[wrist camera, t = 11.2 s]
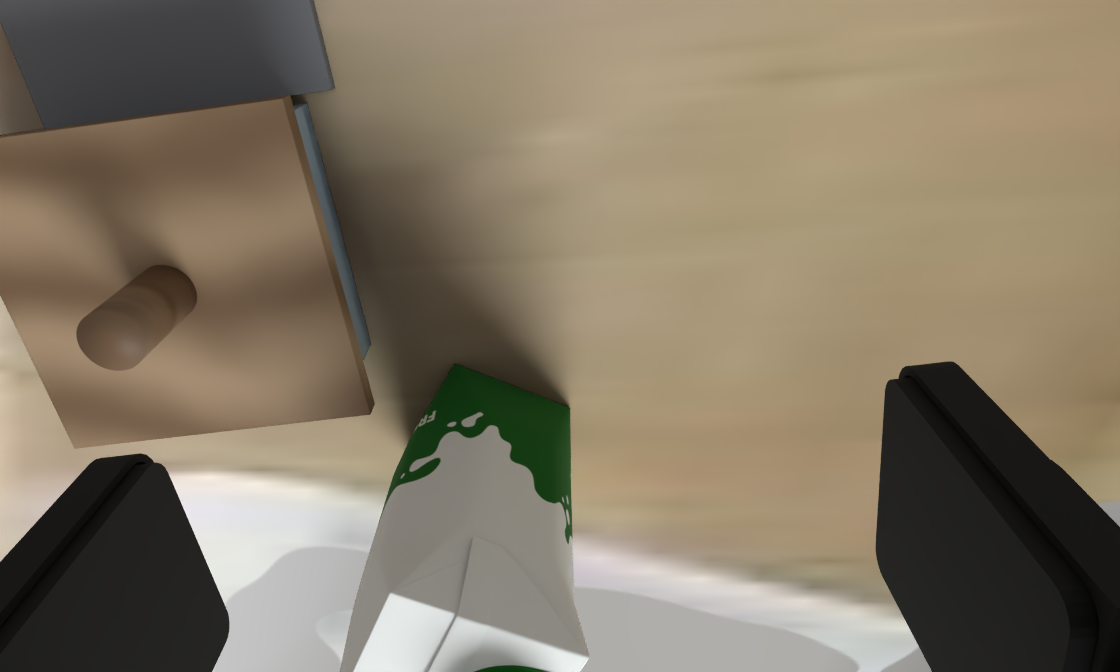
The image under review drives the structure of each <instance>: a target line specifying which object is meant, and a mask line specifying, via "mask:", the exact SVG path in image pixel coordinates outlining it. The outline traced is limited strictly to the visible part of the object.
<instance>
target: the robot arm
mask: <svg viewBox="0 0 1120 672" xmlns="http://www.w3.org/2000/svg"><path fill="white" fill-rule="evenodd" d="M876 556H877V561H878V565H879V568H880V572H881V574H882V576H883V578H884V580H885V582H886V584H887V586H888V588H889V590H890V592H891V594H892V596H893V598H894V599H895V601H896V603H897V605H898V607H899V609H900V611H901V613H902V615H903V617H904V619H905V620H906V622H907V624H908V626H909V628H910V630H911V632H912V634H913V636H914V638H915V640H916V642H917V643H918V645H919V647H920V649H921V651H922V653H923V655H924V657H925V659H926V661H927V663H928V664H929V666H930V668H931V670H932V672H1120V527H1119V526H1118V525H1117V524H1116V523H1115V522H1114V521H1113V520H1112V519H1111V518H1110V517H1109V516H1108V515H1107V514H1106V513H1105V512H1104V511H1103V509H1102V508H1101V507H1100V506H1099V505H1098V504H1097V503H1096V502H1095V501H1094V500H1093V499H1092V498H1091V497H1090V496H1089V495H1088V494H1087V493H1086V492H1085V491H1084V490H1083V489H1082V488H1081V487H1080V486H1079V485H1078V484H1077V483H1076V482H1075V481H1074V480H1073V479H1072V478H1071V477H1070V476H1069V475H1068V474H1067V473H1066V472H1065V471H1064V470H1063V469H1062V468H1061V467H1060V466H1059V465H1057V464H1056V463H1055V462H1053V461H1052V460H1050V459H1049V458H1048V457H1047V456H1046V455H1045V454H1044V453H1043V452H1042V451H1041V450H1040V449H1039V448H1038V447H1037V446H1036V445H1035V443H1034V442H1033V441H1032V440H1031V439H1030V438H1029V437H1028V436H1027V435H1026V434H1025V433H1024V432H1023V431H1022V430H1021V429H1020V428H1019V427H1018V426H1017V425H1016V424H1015V423H1014V422H1013V421H1012V420H1011V419H1010V418H1009V417H1008V416H1007V415H1006V414H1005V413H1004V412H1003V411H1002V410H1001V409H1000V408H999V406H998V405H997V404H996V403H995V402H994V401H993V400H992V399H991V398H990V397H989V396H988V395H987V394H986V393H985V392H984V391H983V390H982V389H981V388H980V387H979V386H978V385H977V384H976V383H975V382H974V381H973V380H972V379H971V378H970V377H969V376H968V375H967V374H966V373H965V372H964V370H963V369H962V368H961V367H960V366H959V365H957V364H956V363H954V362H940V363H932V364H923V365H914V366H905V367H904V368H903V369H902V370H901V372H900V375H899V379H893V380H889V381H888V382H887V385H886V389H885V401H884V417H883V434H882V450H881V467H880V483H879V500H878V516H877V533H876ZM228 633H229V616H228V612H227V610H226V607H225V605H224V603H223V600H222V598H221V595H220V593H219V591H218V588H217V586H216V584H215V581H214V579H213V577H212V574H211V572H210V570H209V567H208V565H207V563H206V560H205V558H204V556H203V553H202V551H201V549H200V546H199V544H198V542H197V539H196V537H195V535H194V532H193V530H192V528H191V525H190V523H189V521H188V518H187V516H186V514H185V511H184V509H183V507H182V504H181V502H180V500H179V497H178V495H177V493H176V490H175V488H174V486H173V483H172V481H171V479H170V476H169V474H168V472H167V470H166V468H165V467H164V466H163V465H162V464H159V463H154V462H153V460H152V459H151V458H150V457H148V456H147V455H144V454H133V455H124V456H115V457H106V458H100V459H96V460H94V461H93V462H92V463H90V464H89V465H88V466H87V468H86V469H85V470H84V471H83V472H82V473H81V474H80V475H79V476H78V477H77V478H76V480H75V481H74V482H73V483H72V484H71V485H70V486H69V487H68V488H67V489H66V491H65V492H64V493H63V494H62V495H61V496H60V497H59V498H58V499H57V500H56V501H55V503H54V504H53V505H52V506H51V507H50V508H49V509H48V510H47V511H46V512H45V514H44V515H43V516H42V517H41V518H40V519H39V520H38V521H37V522H36V523H35V524H34V526H33V527H32V528H31V529H30V530H29V531H28V532H27V533H26V534H25V535H24V537H23V538H22V539H21V540H20V541H19V542H18V543H17V544H16V545H15V546H14V548H13V549H12V550H11V551H10V552H9V553H8V554H7V555H6V556H5V557H4V558H3V560H2V561H1V562H0V672H212V670H213V668H214V666H215V664H216V662H217V660H218V658H219V656H220V653H221V651H222V650H223V647H224V645H225V643H226V641H227V638H228Z"/></svg>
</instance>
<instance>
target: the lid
mask: <svg viewBox="0 0 1120 672" xmlns="http://www.w3.org/2000/svg"><path fill="white" fill-rule="evenodd" d="M0 296H1V298H2V300H3V302H4V304H5V306H6V308H7V310H8V312H9V314H10V316H11V318H12V320H13V322H14V325H15V327H16V329H17V331H18V333H19V335H20V337H21V339H22V341H23V343H24V345H25V347H26V349H27V351H28V353H29V355H30V358H31V360H32V362H33V364H34V366H35V368H36V370H37V372H38V374H39V376H40V378H41V380H42V382H43V384H44V386H45V389H46V391H47V393H48V395H49V397H50V399H51V401H52V403H53V405H54V407H55V409H56V411H57V413H58V415H59V417H60V419H61V422H62V424H63V426H64V428H65V430H66V432H67V434H68V436H69V438H70V440H71V442H72V444H73V446H74V448H84V447H93V446H101V445H110V444H119V443H127V442H136V441H145V440H153V439H162V438H171V437H179V436H188V435H197V434H205V433H214V432H223V431H231V430H240V429H249V428H257V427H266V426H275V425H283V424H292V423H301V422H309V421H318V420H327V419H335V418H344V417H353V416H361V415H370V414H371V412H372V409H373V407H374V404H375V403H374V399H373V396H372V392H371V389H370V385H369V381H368V378H367V374H366V370H365V367H364V363H363V359H362V356H361V352H360V348H359V345H358V341H357V337H356V334H355V330H354V326H353V323H352V319H351V315H350V312H349V308H348V305H347V301H346V297H345V294H344V290H343V286H342V283H341V279H340V275H339V272H338V268H337V264H336V261H335V257H334V253H333V250H332V246H331V242H330V239H329V235H328V231H327V228H326V224H325V220H324V217H323V213H322V210H321V206H320V202H319V199H318V195H317V191H316V188H315V184H314V180H313V177H312V173H311V169H310V166H309V162H308V158H307V155H306V151H305V147H304V144H303V140H302V136H301V133H300V129H299V126H298V122H297V118H296V115H295V111H294V107H293V104H292V100H291V96H290V95H285V96H278V97H270V98H263V99H256V100H249V101H241V102H234V103H227V104H220V105H213V106H205V107H198V108H191V109H184V110H177V111H169V112H162V113H155V114H148V115H140V116H133V117H126V118H119V119H112V120H104V121H97V122H90V123H83V124H76V125H68V126H61V127H54V128H47V129H39V130H32V131H25V132H18V133H11V134H3V135H0Z"/></svg>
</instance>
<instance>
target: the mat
mask: <svg viewBox="0 0 1120 672" xmlns="http://www.w3.org/2000/svg"><path fill="white" fill-rule="evenodd" d="M0 22H1V25H2V27H3V29H4V32H5V34H6V37H7V39H8V41H9V44H10V46H11V49H12V51H13V54H14V56H15V58H16V61H17V63H18V66H19V68H20V70H21V73H22V75H23V78H24V80H25V83H26V85H27V87H28V90H29V92H30V95H31V97H32V99H33V102H34V104H35V107H36V109H37V111H38V114H39V116H40V119H41V121H42V124H43V126H44V128H45V129H47V128H54V127H61V126H68V125H76V124H83V123H90V122H97V121H104V120H112V119H119V118H126V117H133V116H140V115H148V114H155V113H162V112H169V111H177V110H184V109H191V108H198V107H205V106H213V105H220V104H227V103H234V102H241V101H249V100H256V99H263V98H270V97H278V96H285V95H290V96H292V95H300V94H307V93H314V92H321V91H329V90H333V89H334V88H335V86H334V82H333V78H332V74H331V70H330V66H329V62H328V58H327V53H326V49H325V45H324V41H323V37H322V33H321V29H320V25H319V21H318V17H317V13H316V9H315V5H314V1H313V0H0Z"/></svg>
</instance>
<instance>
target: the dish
mask: <svg viewBox="0 0 1120 672" xmlns="http://www.w3.org/2000/svg"><path fill="white" fill-rule="evenodd" d="M293 107H294V111H295V115H296V118H297V122H298V126H299V129H300V133H301V136H302V140H303V144H304V147H305V151H306V155H307V158H308V162H309V166H310V169H311V173H312V177H313V180H314V184H315V188H316V191H317V195H318V199H319V202H320V206H321V210H322V213H323V217H324V220H325V224H326V228H327V231H328V235H329V239H330V242H331V246H332V250H333V253H334V257H335V261H336V264H337V268H338V272H339V275H340V279H341V283H342V286H343V290H344V294H345V297H346V301H347V305H348V308H349V312H350V315H351V319H352V323H353V326H354V330H355V334H356V337H357V341H358V345H359V348H360V352H361V356H362V359H363V360H364V358H365V356H366V354H367V351H368V349H369V347H370V345H371V342H370V339H369V335H368V331H367V327H366V323H365V320H364V316H363V312H362V308H361V305H360V301H359V297H358V293H357V290H356V286H355V282H354V278H353V274H352V271H351V267H350V263H349V259H348V256H347V252H346V248H345V244H344V240H343V237H342V233H341V229H340V225H339V222H338V218H337V214H336V210H335V207H334V203H333V199H332V195H331V191H330V188H329V184H328V180H327V176H326V173H325V169H324V165H323V161H322V157H321V154H320V150H319V146H318V142H317V139H316V135H315V131H314V127H313V124H312V120H311V116H310V112H309V108H308V105H307V103H304V104H297V105H293Z"/></svg>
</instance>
